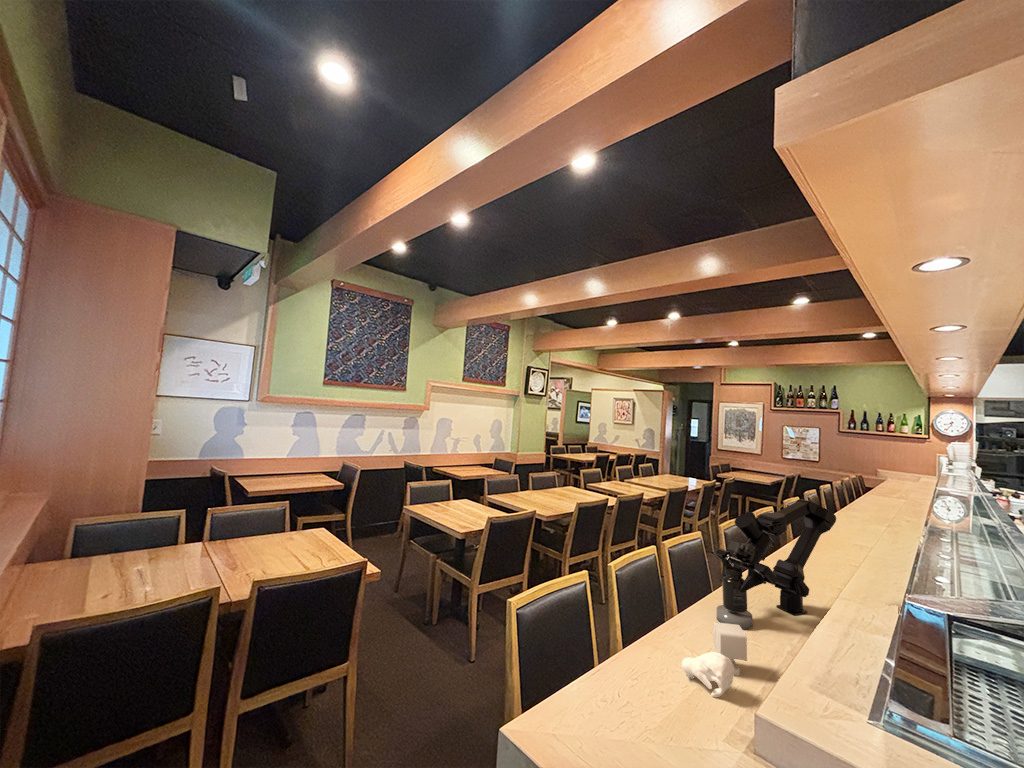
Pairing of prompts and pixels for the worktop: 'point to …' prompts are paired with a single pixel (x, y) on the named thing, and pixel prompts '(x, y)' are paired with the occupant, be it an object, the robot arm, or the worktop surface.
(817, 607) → the worktop surface
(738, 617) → the stand
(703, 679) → the white toy
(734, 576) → the supplement bottle
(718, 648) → the security camera
